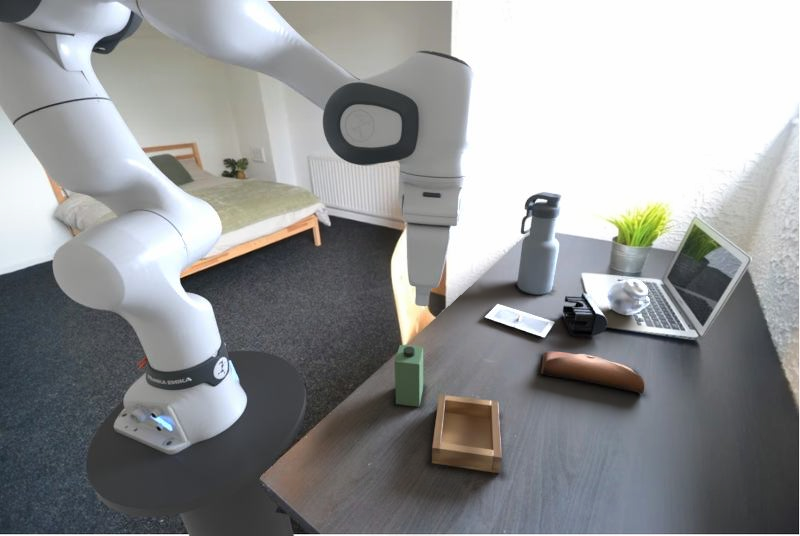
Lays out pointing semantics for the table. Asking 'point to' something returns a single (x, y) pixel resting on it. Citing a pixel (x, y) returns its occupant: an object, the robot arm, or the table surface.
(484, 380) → the table surface
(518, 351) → the table surface
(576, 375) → the sunglasses case
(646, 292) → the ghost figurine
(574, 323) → the end cap
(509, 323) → the white shallow tray
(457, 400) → the wooden tray
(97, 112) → the robot arm
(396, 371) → the green carton with cap
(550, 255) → the water bottle
